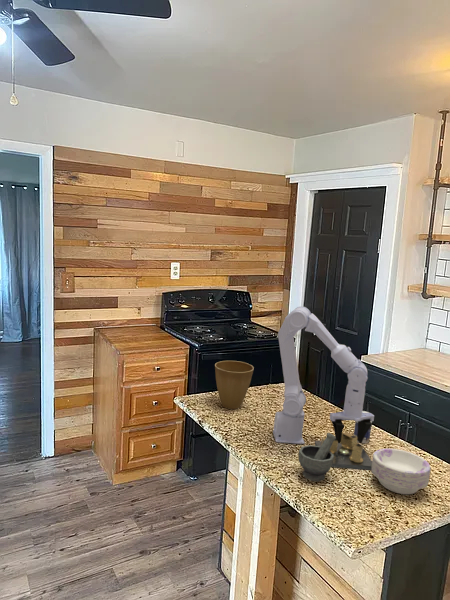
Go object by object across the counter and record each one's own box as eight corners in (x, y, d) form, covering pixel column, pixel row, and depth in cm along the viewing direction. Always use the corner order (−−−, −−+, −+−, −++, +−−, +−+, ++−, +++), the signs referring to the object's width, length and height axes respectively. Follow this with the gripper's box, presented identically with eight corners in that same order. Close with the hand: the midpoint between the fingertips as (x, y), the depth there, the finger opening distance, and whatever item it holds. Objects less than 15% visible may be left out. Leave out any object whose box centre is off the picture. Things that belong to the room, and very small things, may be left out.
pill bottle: (370, 444, 157) (373, 417, 156) (353, 442, 158) (357, 414, 157) (368, 438, 162) (372, 411, 161) (352, 435, 163) (356, 409, 162)
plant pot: (214, 396, 189) (218, 358, 187) (251, 401, 187) (255, 363, 185) (208, 410, 175) (212, 368, 172) (247, 415, 173) (252, 373, 171)
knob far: (338, 445, 151) (340, 433, 151) (346, 443, 154) (348, 431, 153) (349, 451, 148) (351, 438, 147) (357, 448, 150) (359, 436, 149)
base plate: (325, 466, 139) (326, 459, 138) (314, 444, 154) (315, 437, 153) (375, 470, 139) (376, 463, 139) (359, 447, 154) (360, 440, 154)
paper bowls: (376, 466, 142) (380, 442, 141) (430, 484, 134) (434, 458, 133) (363, 487, 129) (367, 460, 128) (422, 508, 121) (426, 479, 120)
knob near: (361, 464, 139) (363, 451, 139) (348, 461, 141) (350, 447, 140) (363, 458, 143) (365, 445, 143) (350, 455, 145) (352, 442, 144)
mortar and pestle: (311, 487, 126) (316, 445, 125) (289, 471, 134) (294, 431, 132) (341, 479, 132) (347, 439, 130) (319, 464, 140) (323, 426, 138)
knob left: (322, 454, 144) (324, 441, 143) (319, 448, 148) (321, 435, 147) (337, 455, 144) (338, 442, 144) (333, 449, 148) (335, 436, 148)
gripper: (338, 405, 143) (333, 447, 145) (381, 406, 146) (375, 446, 148) (328, 397, 150) (323, 437, 152) (369, 397, 153) (364, 437, 155)
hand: (348, 441), depth 150 cm, fingers open, 7 cm apart
